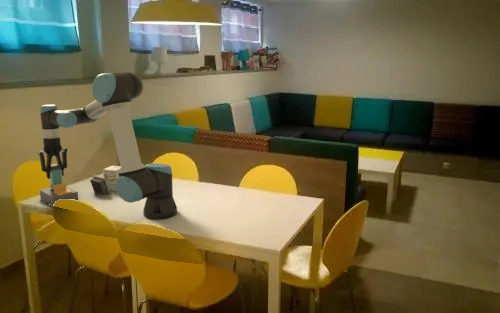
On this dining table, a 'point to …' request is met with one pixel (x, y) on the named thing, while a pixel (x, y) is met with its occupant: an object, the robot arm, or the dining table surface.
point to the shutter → (61, 189)
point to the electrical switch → (100, 185)
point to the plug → (56, 174)
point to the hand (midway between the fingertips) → (56, 183)
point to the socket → (51, 197)
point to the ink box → (111, 176)
